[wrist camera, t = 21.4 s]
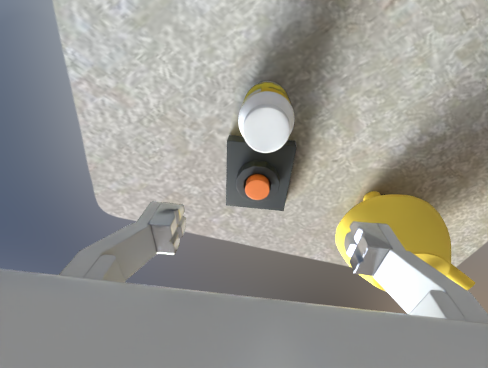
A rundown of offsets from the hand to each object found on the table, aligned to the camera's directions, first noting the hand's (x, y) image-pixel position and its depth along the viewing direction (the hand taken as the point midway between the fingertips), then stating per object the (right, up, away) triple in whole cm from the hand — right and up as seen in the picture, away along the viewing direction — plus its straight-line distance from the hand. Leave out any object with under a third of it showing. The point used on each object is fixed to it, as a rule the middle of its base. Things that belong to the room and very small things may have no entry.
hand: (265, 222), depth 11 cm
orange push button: (+1, +2, +23) cm, 23 cm away
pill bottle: (+2, +13, +20) cm, 24 cm away
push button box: (+1, +4, +26) cm, 26 cm away
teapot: (+25, -5, +30) cm, 39 cm away
